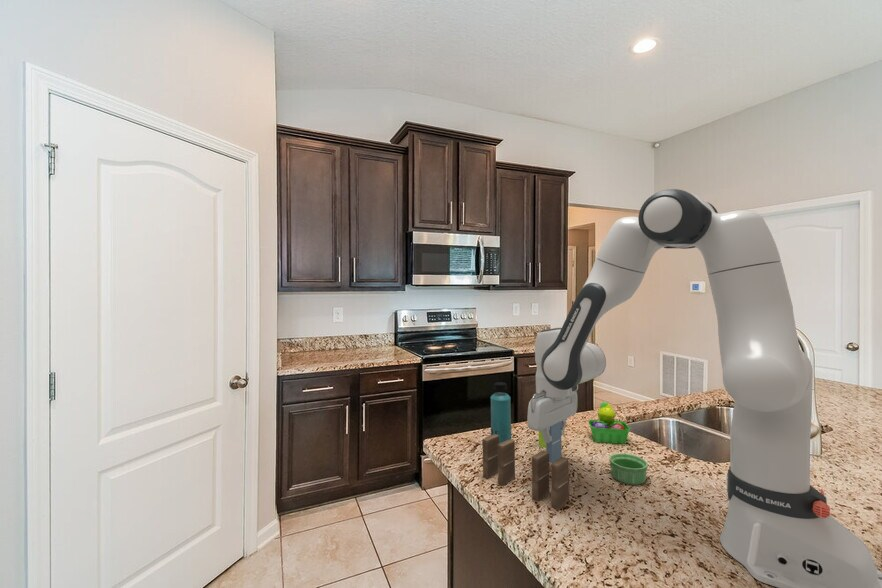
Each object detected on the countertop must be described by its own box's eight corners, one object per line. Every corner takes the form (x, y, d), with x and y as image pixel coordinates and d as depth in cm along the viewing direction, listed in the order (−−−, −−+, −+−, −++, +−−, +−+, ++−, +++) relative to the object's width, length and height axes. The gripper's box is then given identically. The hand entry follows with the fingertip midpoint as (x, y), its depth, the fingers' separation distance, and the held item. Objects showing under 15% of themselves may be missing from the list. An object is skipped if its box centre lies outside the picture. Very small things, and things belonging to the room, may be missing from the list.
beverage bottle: (515, 445, 120) (514, 381, 120) (506, 453, 115) (506, 386, 114) (496, 441, 124) (495, 379, 123) (487, 448, 118) (486, 384, 118)
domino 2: (515, 478, 99) (514, 440, 99) (503, 486, 96) (502, 446, 95) (509, 476, 100) (509, 438, 100) (498, 483, 97) (497, 444, 97)
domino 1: (499, 472, 103) (499, 435, 103) (487, 479, 99) (487, 440, 99) (494, 470, 104) (494, 433, 104) (482, 476, 100) (482, 439, 100)
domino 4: (561, 457, 105) (560, 420, 105) (552, 463, 101) (551, 425, 101) (556, 455, 106) (555, 419, 106) (546, 461, 102) (545, 424, 102)
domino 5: (568, 501, 88) (568, 458, 88) (557, 510, 85) (557, 466, 85) (562, 499, 89) (562, 456, 89) (551, 507, 86) (550, 463, 86)
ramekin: (604, 478, 99) (604, 461, 99) (616, 465, 106) (616, 450, 106) (642, 490, 93) (641, 472, 93) (652, 476, 100) (652, 459, 99)
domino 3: (549, 493, 92) (549, 452, 92) (538, 501, 88) (537, 458, 88) (543, 491, 93) (543, 450, 93) (532, 499, 90) (531, 456, 89)
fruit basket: (591, 443, 121) (591, 407, 121) (587, 433, 129) (587, 399, 129) (630, 446, 118) (630, 409, 118) (623, 435, 127) (623, 401, 127)
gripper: (542, 397, 94) (543, 453, 94) (581, 382, 108) (582, 431, 108) (520, 393, 99) (521, 446, 99) (560, 379, 113) (561, 426, 113)
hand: (553, 438), depth 104 cm, fingers closed on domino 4, 5 cm apart
